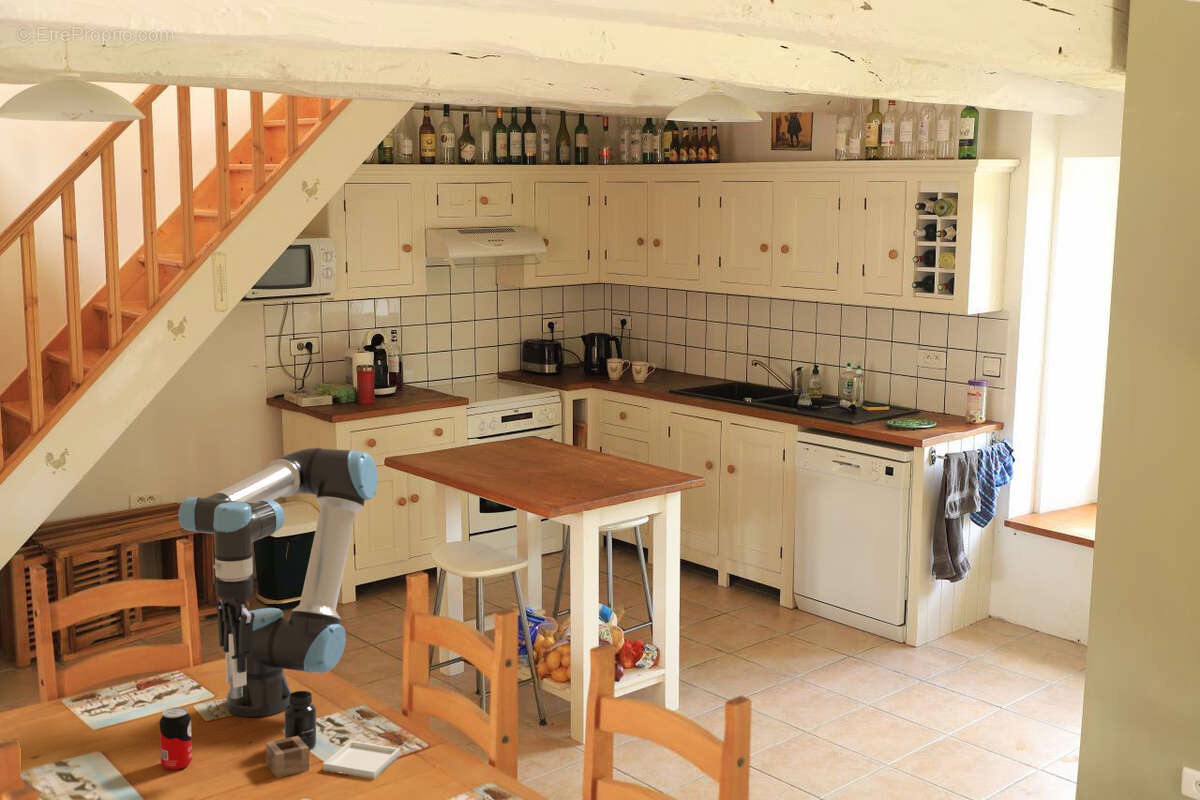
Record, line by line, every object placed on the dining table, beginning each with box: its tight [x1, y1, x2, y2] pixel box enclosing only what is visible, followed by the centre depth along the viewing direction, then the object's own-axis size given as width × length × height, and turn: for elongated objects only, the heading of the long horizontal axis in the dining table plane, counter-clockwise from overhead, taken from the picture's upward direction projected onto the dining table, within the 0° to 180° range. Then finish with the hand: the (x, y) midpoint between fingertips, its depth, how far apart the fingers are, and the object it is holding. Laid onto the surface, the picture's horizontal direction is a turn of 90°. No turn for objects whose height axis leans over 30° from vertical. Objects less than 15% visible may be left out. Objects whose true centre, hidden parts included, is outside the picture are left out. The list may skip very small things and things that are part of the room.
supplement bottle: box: [284, 690, 317, 750], centre depth 266 cm, size 7×7×12 cm
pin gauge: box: [229, 632, 243, 699], centre depth 253 cm, size 3×3×14 cm
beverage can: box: [159, 706, 193, 771], centre depth 255 cm, size 6×6×12 cm
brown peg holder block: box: [265, 736, 310, 778], centre depth 256 cm, size 7×7×5 cm
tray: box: [322, 740, 401, 780], centre depth 259 cm, size 12×12×2 cm
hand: (236, 683), depth 253 cm, fingers closed on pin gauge, 2 cm apart
